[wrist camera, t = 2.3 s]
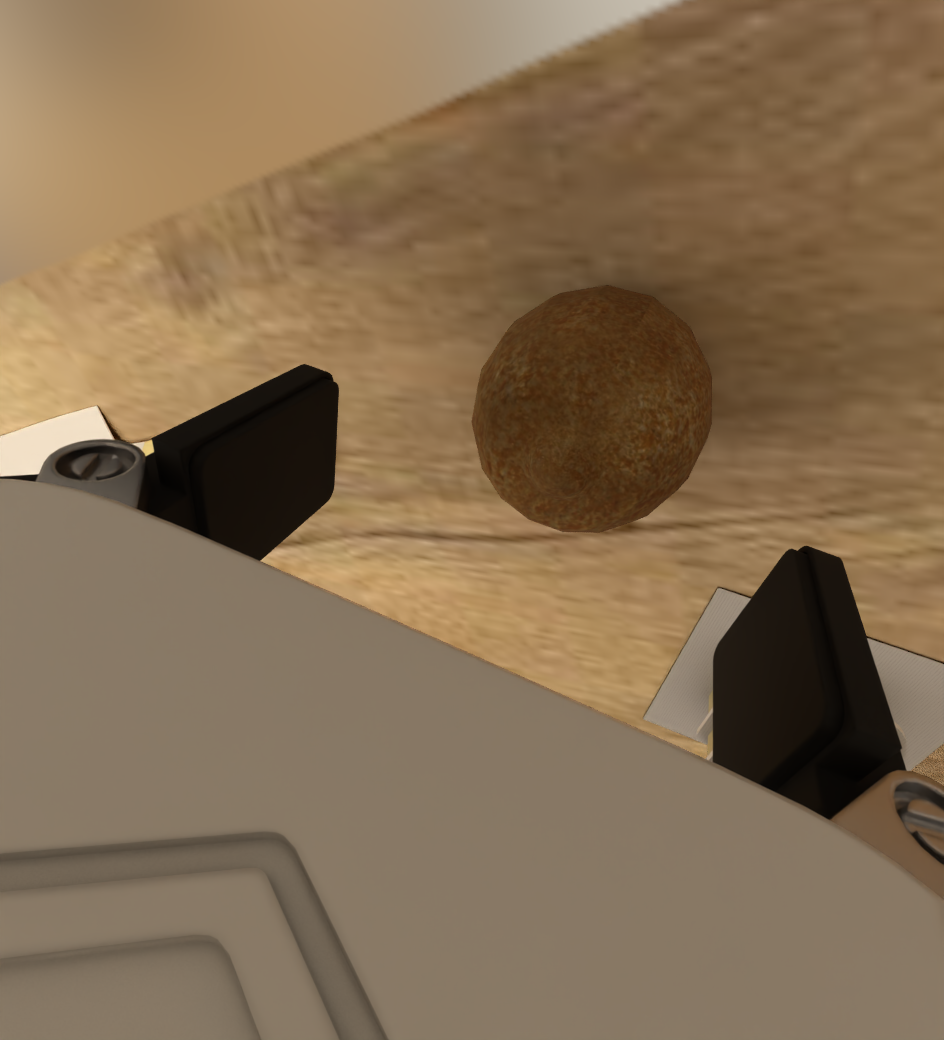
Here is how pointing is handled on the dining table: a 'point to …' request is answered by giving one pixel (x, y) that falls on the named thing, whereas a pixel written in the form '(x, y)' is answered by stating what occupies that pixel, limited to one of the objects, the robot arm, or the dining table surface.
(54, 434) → the knife
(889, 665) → the stacked layers on plate
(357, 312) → the dining table surface
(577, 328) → the fruit
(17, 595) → the robot arm
